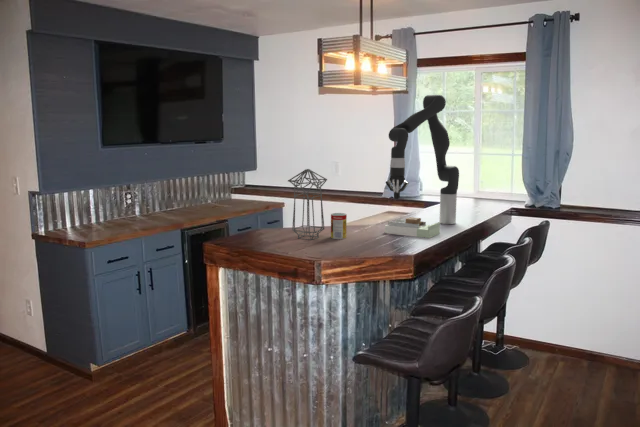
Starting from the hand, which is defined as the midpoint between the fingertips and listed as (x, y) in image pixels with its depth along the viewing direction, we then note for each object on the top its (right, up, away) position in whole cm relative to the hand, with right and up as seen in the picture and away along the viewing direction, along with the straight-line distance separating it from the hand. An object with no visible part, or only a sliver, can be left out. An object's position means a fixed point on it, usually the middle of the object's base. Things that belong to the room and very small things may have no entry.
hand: (396, 199), depth 292 cm
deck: (+8, -18, -2) cm, 20 cm away
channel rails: (+5, -14, -1) cm, 15 cm away
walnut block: (+8, -14, -3) cm, 16 cm away
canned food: (-31, -20, -13) cm, 39 cm away
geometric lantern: (-47, -20, -15) cm, 53 cm away
